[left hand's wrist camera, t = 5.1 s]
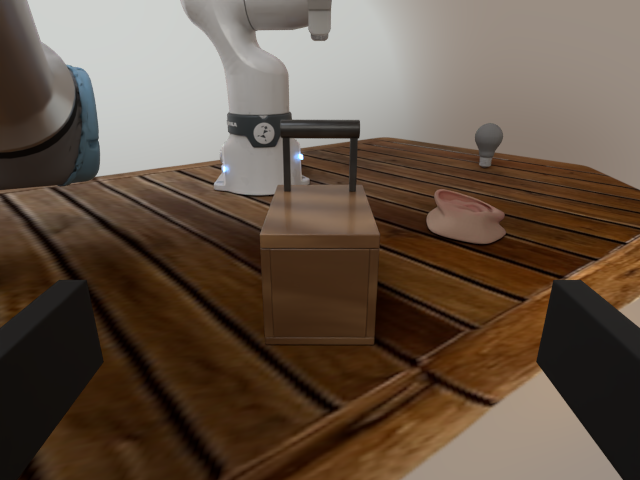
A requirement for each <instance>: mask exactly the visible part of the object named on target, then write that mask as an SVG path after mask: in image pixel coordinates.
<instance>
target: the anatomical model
mask: <svg viewBox="0 0 640 480" xmlns="http://www.w3.org/2000/svg"><path fill="white" fill-rule="evenodd" d="M434 197H435V202H436V204H437V207H436V208H435V209H433V210H432V211H430V212H429V214H428V215H427V225H428V228H429V229H430V230H431V231H432V232H434V233H436V234H438V235H441V236H444V237H447V238H451V239H455V240H459V241H464V242H470V243H476V244H488V243H492V242H494V241H496V240H498V239H500V238H502V237H503V236H504V235H505V234H506V231H505V230H504V229H503V228H502V227H501V226H500V225H499V222H500V221H501V220H503V219H504V213H503V212H502V211H500V210H498V209H496V208H494V207H493V206H491V205H489V204H487V203H485V202H483V201H481V200H478V199H475V198H473V197H470V196H467V195H464V194H461V193H457V192H454V191H450V190H444V189H440V190H437V191H436V192H435V195H434Z"/></svg>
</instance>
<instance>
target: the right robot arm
mask: <svg viewBox="0 0 640 480" xmlns="http://www.w3.org/2000/svg"><path fill="white" fill-rule="evenodd" d="M331 2H332V0H181V4H182V7H183V9H184V11H185V13H186V15H187V16H188V18H189V19H190V20H191V21H192V22H193V23H194V24H195V25H196V26H197V27H199V28H200V29H201V30H202V31H203V32H204V33H205V34H206V35H207V36H208V37H209V39H210V40H211V41H212V43H213V44H214V46H215V47H216V49H217V51H218V53H219V55H220V58H221V60H222V63H223V66H224V70H225V76H226V83H227V90H228V100H229V113H228V114H227V119H228V120H227V125H228V132H229V133H230V135H229V138H228V139H227V141H226V142H225V143H224V145H222V150H220V161H221V162H222V163H223V165H222V167H221V170H222V174H221V175H220V176H219V178H218V179H217V181H216V182H215V183H214V189H215V190H222V191H229V192H233V193H237V194H245V195H272V194H275V191H276V188H277V185H284V173H283V138H281V134H280V121H281V120H292V117H291V112H289V84H288V72H287V69H286V67H285V65H284V64H283V63H282V62H281V61H280V60H279V59H278V58H276V57H275V56H273V55H271V54H270V53H268V52H266V51H264V50H262V49H261V48H260V47H259V45H258V43H257V40H256V35H255V31H257V30H294V29H298V28H303V27H307V26H308V27H309V32H310V33H311V38H312V40H314V41H325V40H327V38H328V33H329V32H330V29H331ZM301 159H303V155H301V154H300V144H299V142H297V140H295V139H294V138H290V165H291V185H308V184H310V181H309V178H307V177H305V176H303V175H302V172H301Z"/></svg>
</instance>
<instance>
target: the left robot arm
mask: <svg viewBox="0 0 640 480" xmlns="http://www.w3.org/2000/svg"><path fill="white" fill-rule="evenodd" d="M98 133H99V130H98V120H97V112H96V104H95V98H94V93H93V88H92V84H91V80H90V78H89V75H88V74H87V73H86V71H85V70H83V69H82V68H78V67H72V66H70V65H66V64H65V63H64V62H63V60H62V59H61V58H60V57H59V56H58V55H57V54H56V53H55V52H54V51H53V50H52V49H51V48H49V47H48V46H47V45H45V44H44V43H42V42H41V41H40V38H39V35H38V32H37V29H36V26H35V23H34V20H33V17H32V14H31V11H30V8H29V5H28V2H27V0H0V190H6V189H17V188H29V187H40V186H51V185H57V186H66V185H69V184H71V183H77V182H84V181H89V180H91V179H93V178H94V177H95V176H96V175H97V173H98V170H99V165H100V147H99V142H98V138H99V136H98ZM103 362H104V361H103V357H102V352H101V347H100V342H99V338H98V333H97V328H96V323H95V318H94V314H93V309H92V304H91V299H90V295H89V290H88V285H87V280H59V281H57V282H56V283H55V284H54V285H52V286H51V287H50V288H49V289H48V290H46V291H45V292H44V293H43V294H41V295H40V296H39V297H38V298H37V299H35V300H34V301H33V302H32V303H30V304H29V305H28V306H27V307H26V308H24V309H23V310H22V311H21V312H19V313H18V314H17V315H16V316H14V317H13V318H12V319H11V320H10V321H8V322H7V323H6V324H5V325H3V326H2V327H1V328H0V480H17V479H18V478H19V476H20V475H21V474H22V472H23V471H24V470H25V468H26V467H27V465H28V464H29V463H30V461H31V460H32V459H33V457H34V456H35V455H36V453H37V452H38V450H39V449H40V448H41V446H42V445H43V444H44V442H45V441H46V440H47V438H48V437H49V436H50V434H51V433H52V431H53V430H54V429H55V427H56V426H57V425H58V423H59V422H60V421H61V419H62V418H63V416H64V415H65V414H66V412H67V411H68V410H69V408H70V407H71V406H72V404H73V403H74V401H75V400H76V399H77V397H78V396H79V395H80V393H81V392H82V391H83V389H84V388H85V387H86V385H87V384H88V382H89V381H90V380H91V378H92V377H93V376H94V374H95V373H96V372H97V370H98V369H99V367H100V366H101V365H102V363H103ZM536 362H537V363H538V365H539V366H540V367H541V369H542V370H543V372H544V373H545V374H546V376H547V377H548V378H549V380H550V381H551V382H552V384H553V385H554V386H555V388H556V389H557V391H558V392H559V393H560V395H561V396H562V397H563V399H564V400H565V401H566V403H567V404H568V406H569V407H570V408H571V410H572V411H573V412H574V414H575V415H576V416H577V418H578V419H579V421H580V422H581V423H582V425H583V426H584V427H585V429H586V430H587V431H588V433H589V434H590V436H591V437H592V438H593V440H594V441H595V442H596V444H597V445H598V446H599V448H600V449H601V450H602V452H603V453H604V455H605V456H606V457H607V459H608V460H609V461H610V463H611V464H612V465H613V467H614V468H615V470H616V471H617V472H618V474H619V475H620V476H621V478H622V479H623V480H640V328H639V327H638V326H637V325H635V324H634V323H633V322H632V321H630V320H629V319H628V318H627V317H625V316H624V315H623V314H622V313H621V312H619V311H618V310H617V309H616V308H614V307H613V306H612V305H611V304H610V303H608V302H607V301H606V300H605V299H603V298H602V297H601V296H600V295H599V294H597V293H596V292H595V291H594V290H592V289H591V288H590V287H589V286H588V285H586V284H585V283H584V282H583V281H581V280H553V285H552V290H551V295H550V299H549V304H548V309H547V314H546V318H545V323H544V328H543V333H542V338H541V342H540V347H539V352H538V357H537V361H536Z"/></svg>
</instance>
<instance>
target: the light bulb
mask: <svg viewBox="0 0 640 480" xmlns="http://www.w3.org/2000/svg"><path fill="white" fill-rule="evenodd" d="M502 139H503V133H502V130H501V129H500V127H499V126H498V125H496V124H492V123H488V124H485V125H483V126H481V127H480V128H479V129H478V130H477V132H476V134H475V141H476V144H477V146H478V149H479V155H480V163H479V165H480V166H482V167H489V166H491V160H492V157H493V155H494V152H495V150H496V149H497V147H498V146H499V145H500V143H501V142H502Z"/></svg>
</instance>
